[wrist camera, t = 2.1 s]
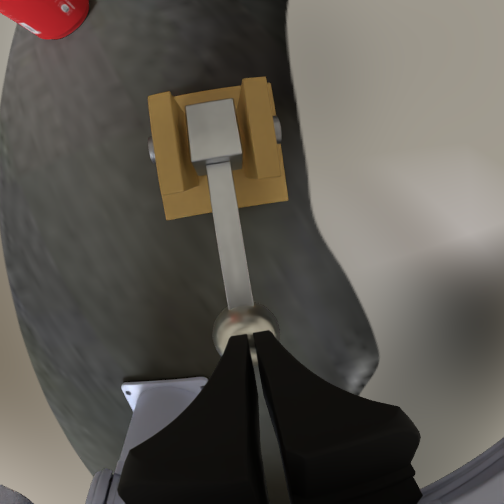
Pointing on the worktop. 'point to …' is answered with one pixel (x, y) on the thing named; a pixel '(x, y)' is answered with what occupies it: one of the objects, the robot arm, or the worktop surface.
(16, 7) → the beverage can
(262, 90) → the bracket
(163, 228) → the worktop surface
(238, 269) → the tap lever
